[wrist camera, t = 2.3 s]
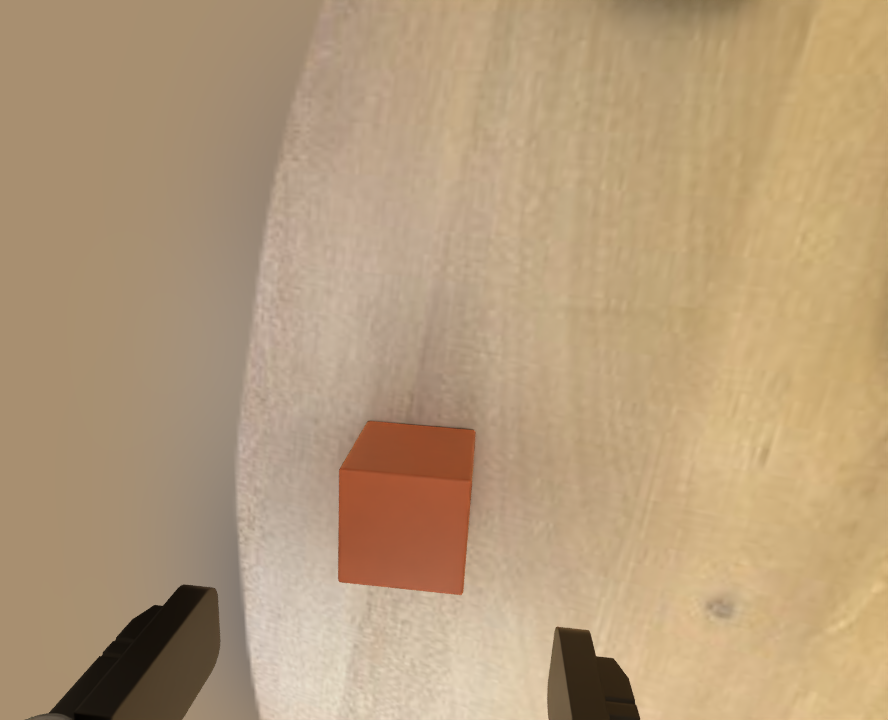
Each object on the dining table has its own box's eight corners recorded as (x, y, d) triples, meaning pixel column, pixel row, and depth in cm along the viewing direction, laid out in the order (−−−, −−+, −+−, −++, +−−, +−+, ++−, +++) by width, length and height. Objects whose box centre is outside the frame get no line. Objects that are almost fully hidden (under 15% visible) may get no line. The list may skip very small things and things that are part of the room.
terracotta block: (364, 516, 22) (337, 583, 18) (367, 419, 20) (338, 468, 17) (468, 526, 21) (462, 596, 17) (475, 429, 20) (471, 480, 16)
